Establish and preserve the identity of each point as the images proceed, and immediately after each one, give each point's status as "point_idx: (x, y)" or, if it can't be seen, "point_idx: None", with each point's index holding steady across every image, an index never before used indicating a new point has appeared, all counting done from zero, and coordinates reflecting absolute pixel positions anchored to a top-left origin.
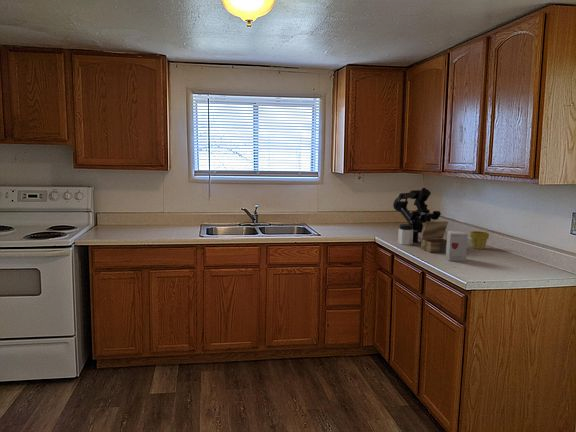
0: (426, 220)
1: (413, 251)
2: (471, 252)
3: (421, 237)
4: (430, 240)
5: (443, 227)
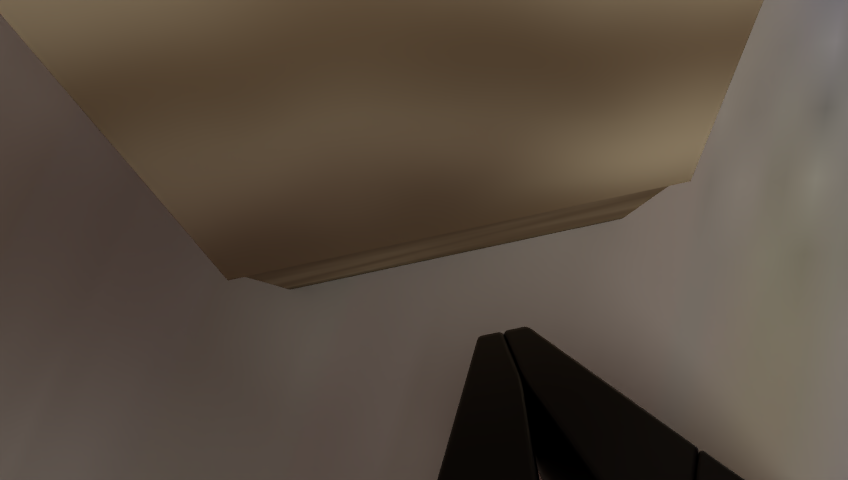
0: (709, 472)
1: (762, 42)
2: (17, 42)
3: (695, 154)
4: None
5: (142, 12)
